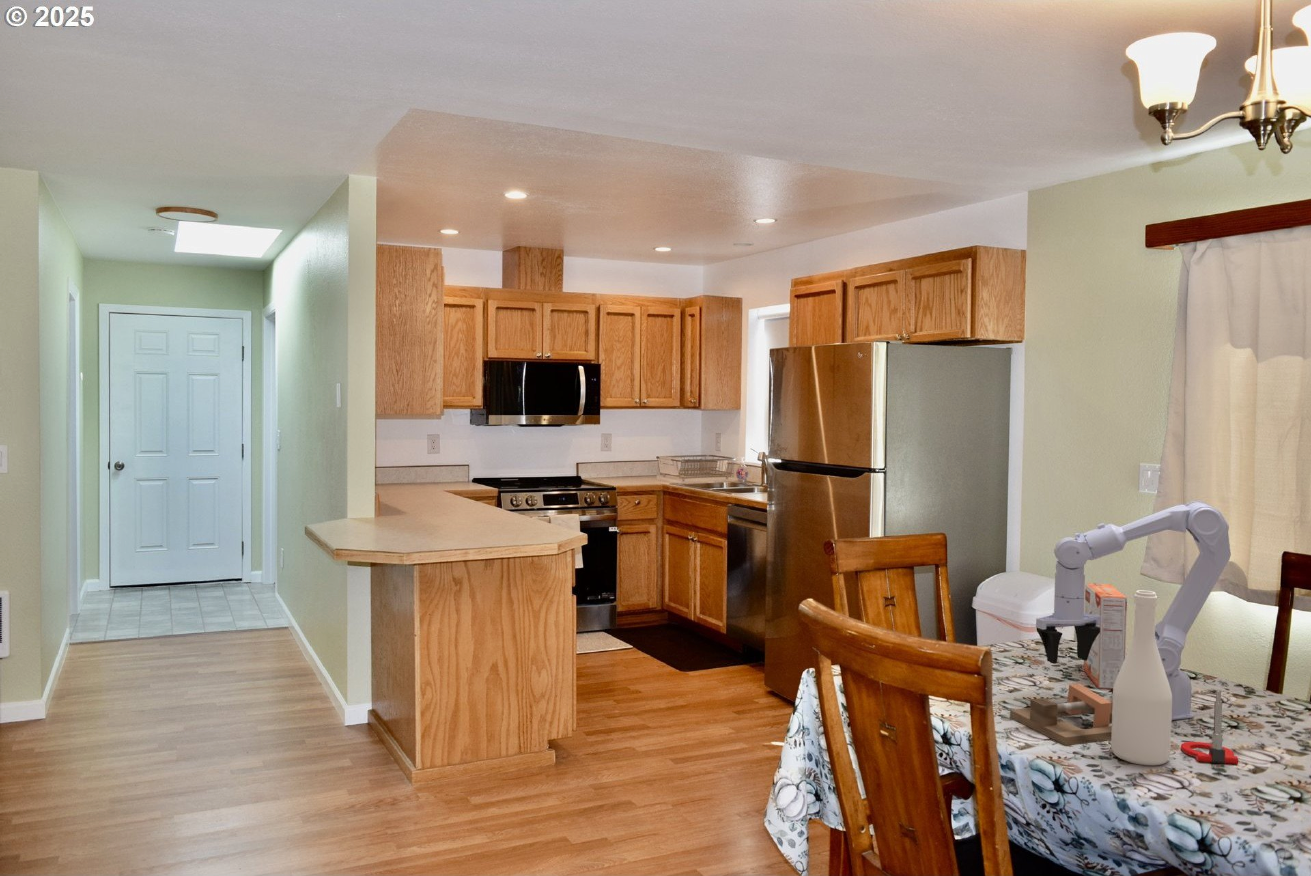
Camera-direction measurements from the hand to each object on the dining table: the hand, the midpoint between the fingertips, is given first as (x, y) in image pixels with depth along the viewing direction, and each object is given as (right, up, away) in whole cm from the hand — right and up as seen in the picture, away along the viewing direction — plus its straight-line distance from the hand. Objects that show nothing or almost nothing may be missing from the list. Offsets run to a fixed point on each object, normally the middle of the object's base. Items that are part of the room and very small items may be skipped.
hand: (1067, 660), depth 205 cm
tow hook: (+15, -11, -26) cm, 32 cm away
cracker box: (+16, -9, +18) cm, 25 cm away
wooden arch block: (-1, -10, -11) cm, 14 cm away
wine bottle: (+2, -11, -28) cm, 30 cm away
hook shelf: (-1, -10, -11) cm, 15 cm away
